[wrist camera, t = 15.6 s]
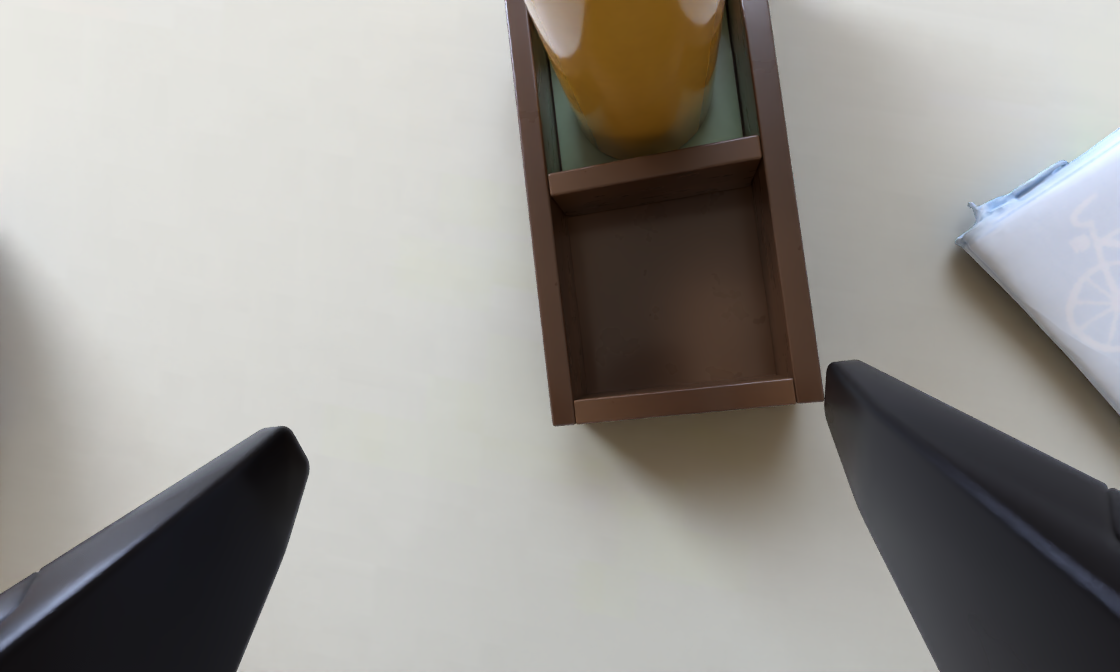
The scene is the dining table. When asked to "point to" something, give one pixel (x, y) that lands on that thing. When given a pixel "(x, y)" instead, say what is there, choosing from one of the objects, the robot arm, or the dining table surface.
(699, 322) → the brown divided tray
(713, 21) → the bottle
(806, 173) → the dining table surface
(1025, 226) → the folded bicycle print cloth
